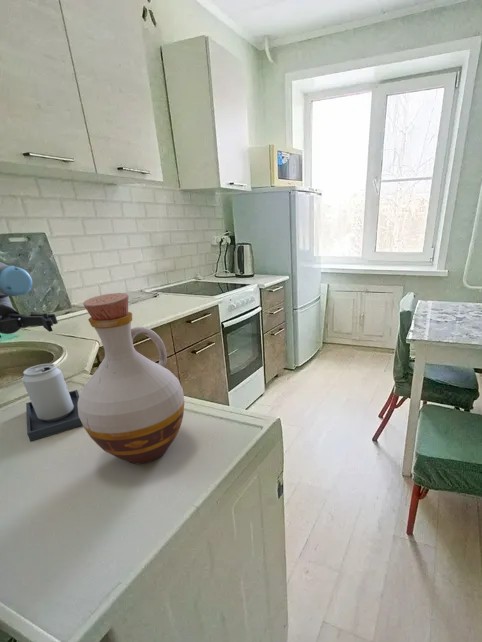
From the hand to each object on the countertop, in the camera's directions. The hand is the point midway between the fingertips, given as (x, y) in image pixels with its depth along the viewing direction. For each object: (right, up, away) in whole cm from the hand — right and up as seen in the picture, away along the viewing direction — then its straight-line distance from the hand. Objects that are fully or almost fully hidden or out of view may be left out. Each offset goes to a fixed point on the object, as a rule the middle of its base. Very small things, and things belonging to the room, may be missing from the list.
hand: (17, 332), depth 85 cm
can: (+11, -20, -2) cm, 23 cm away
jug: (+38, -25, -15) cm, 48 cm away
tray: (+11, -20, -1) cm, 23 cm away
